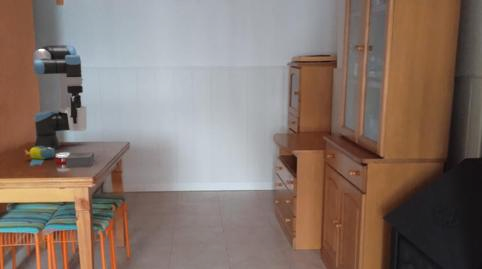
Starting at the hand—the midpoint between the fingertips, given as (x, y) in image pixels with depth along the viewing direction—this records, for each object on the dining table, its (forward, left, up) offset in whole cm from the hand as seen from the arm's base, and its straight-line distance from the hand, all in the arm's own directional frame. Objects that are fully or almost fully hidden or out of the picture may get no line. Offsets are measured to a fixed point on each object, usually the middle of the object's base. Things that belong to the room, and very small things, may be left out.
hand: (77, 128), depth 235 cm
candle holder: (0, 0, -1) cm, 1 cm away
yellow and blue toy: (-17, -25, -20) cm, 36 cm away
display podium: (0, 0, -19) cm, 19 cm away
